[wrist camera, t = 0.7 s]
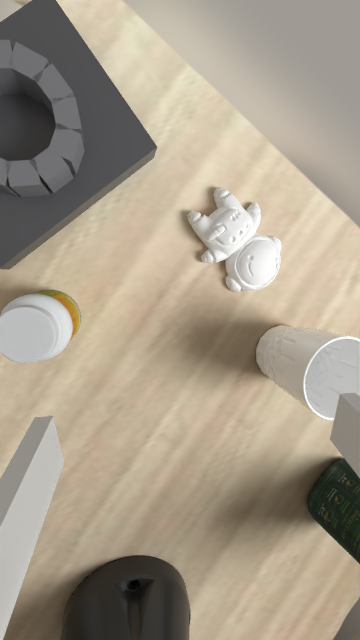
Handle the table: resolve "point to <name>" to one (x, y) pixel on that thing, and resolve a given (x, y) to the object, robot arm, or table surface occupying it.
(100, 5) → the table surface
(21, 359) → the supplement bottle
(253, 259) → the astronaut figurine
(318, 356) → the white cup
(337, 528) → the coffee jar
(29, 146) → the square plate with collar
